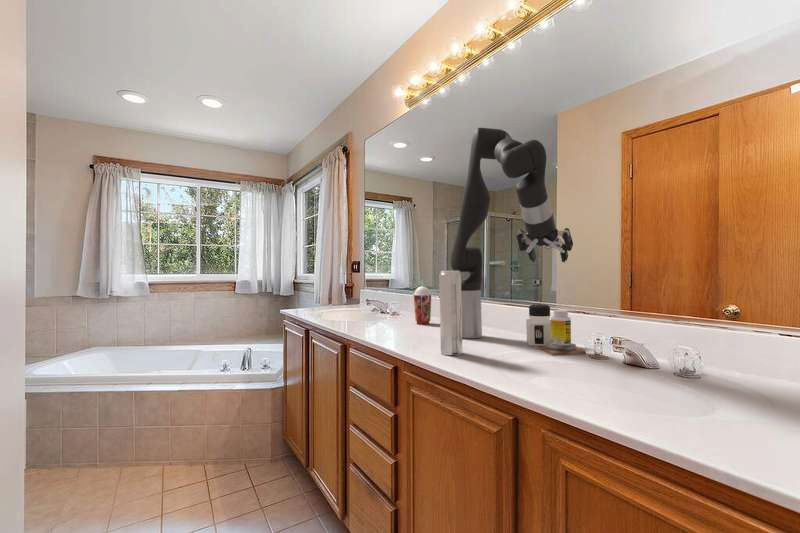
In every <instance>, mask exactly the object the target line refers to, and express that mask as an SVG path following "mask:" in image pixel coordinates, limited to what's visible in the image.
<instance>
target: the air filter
mask: <svg viewBox="0 0 800 533" xmlns="http://www.w3.org/2000/svg"><path fill="white" fill-rule="evenodd" d="M438 276H439V277H438V278H439V279H438V282H439V283H438V288H439V290H438V291H439V326H440V327H439V329H440V330H439V332H440V333H439V336H440V338H439V339H440V354H441V355H443V354H444V356H448V355H456V356H461V355H462V354H463V352H464V351H463V338H462V304H461V281H462V272H460V271H454V270H441V271H440V273H439V274H438Z"/></svg>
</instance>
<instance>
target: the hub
mask: <svg viewBox="0 0 800 533" xmlns="http://www.w3.org/2000/svg"><path fill="white" fill-rule="evenodd" d="M576 346H577V345H576V344H575V343H572V342H571V344H570V345H568V346H558V345H554V344H552V343H551V342H549V343H547V345H539V346H537V347H539V348H541V349H543V350H544V351H543V350H542V351H543V352H545V351H546V352H545V353H547V354H549V355H551V356H570V355H571V356H572V355H587V351H586V350H583V349H581V348H579V347H576ZM539 348H538V349H539ZM541 349H540V350H541Z"/></svg>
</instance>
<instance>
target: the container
mask: <svg viewBox="0 0 800 533" xmlns="http://www.w3.org/2000/svg"><path fill="white" fill-rule="evenodd" d="M525 322H526V323H525V324H526V326H525V327H526V330H525V331H526V342H527V344H528V346H530V347H538V346H539V345H547V343H549V342H551V307H550V306H549V305H548V304H543V303H541V304H540V303H535V304H531V305H529V306H528V318H527V319H526V320H525Z"/></svg>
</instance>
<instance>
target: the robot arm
mask: <svg viewBox="0 0 800 533" xmlns="http://www.w3.org/2000/svg"><path fill="white" fill-rule="evenodd" d="M472 135H473V136H472V139H471V143H470V144H471V145H470V154H469V163H468V170H467V177H466V182H465V188H464V192H463V196H462V203H461V207H460V214H459V221H458V225H457V226H458V227H457V230H456V235H455V238H454V243H453V246H452V250H451V254H450V267H451V269H452V271H460V273H468V275H467V277H465V278H463V279H461V304H462V339H477V338H478V339H480V338H482V337H483V327H482V326H483V322H482V321H483V320H482V319H483V318H482V281H483V280H482V279H483V276H482V275H483V274H482V272H483V254H482V251H481V249H480V247H478V246H467V245H468V242H469V240H470V238H472V236H473V235H474V234H475V233H476V231H477V230H478V229H480V227H481V226H482V225H483V223H485V221H486V219H487V216H488V213H489V208H490V203H491V196H490V192H489V189H488V187H487V185H486V183H485V181H484V177H483V175H482V171H481V160H482V159H484V160H496V161H497V162H498V163H499V164H500V166H501V169H502V172H503V173H504V175H505V176H506V177H507V178H509V179H518V178H520V177H523V176H524V177H523V178H522V179H520V180H519V181H518V182H517V184H516V186H515V191H516V195H517V198H518V202H519V205H520V213H521V218H522V220H523V223H524V228H525V230H526V231H524V230H523V229H519V230H518V233H517V234H516V240H517V244H518V248H519V251H521V252H524V251H526V253H527V255H528V258H529V260H530V261H531V262H532V263H533V262H534V263H535V262H536V260H537V255H536V251H535V247H536V245H537V247H543V246H545V247H550V246H551V248H553V249H556V250H558V252H560V253H559V255H560V259H561V262H562V263H565V262H566V261H568V258H569V253H568V252H571V251H572V249H573V246H574V241H573V239H572V238H573V237H572V234H571V231H570V228H568V227H565V228H564V229H563V230H559V229H557V228H556V226H557V225H556V222H555V221H556V220H555V218H554V213H553V210H552V209H553V208H552V206H551V205H552V204H551V201H550V200H549V196H548V193H547V187H546V168H547V167H546V166H547V152H546V148H545V146H544V145H543V143H542V142H541V141H539V140H537V139H531V140H528V141H525V142H524V143H522V142H520V141H519V140H516V139H513V138H512V136H511V135H510V134H509V133H508V132H507V131H505V130H503V129H499V128H489V127H478V128H476V129H475V131H474V133H473V134H472ZM525 175H526V176H525ZM526 238H527V239H529V240H530V242H529V244H527V243H526ZM562 240H563V241H562Z"/></svg>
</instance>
